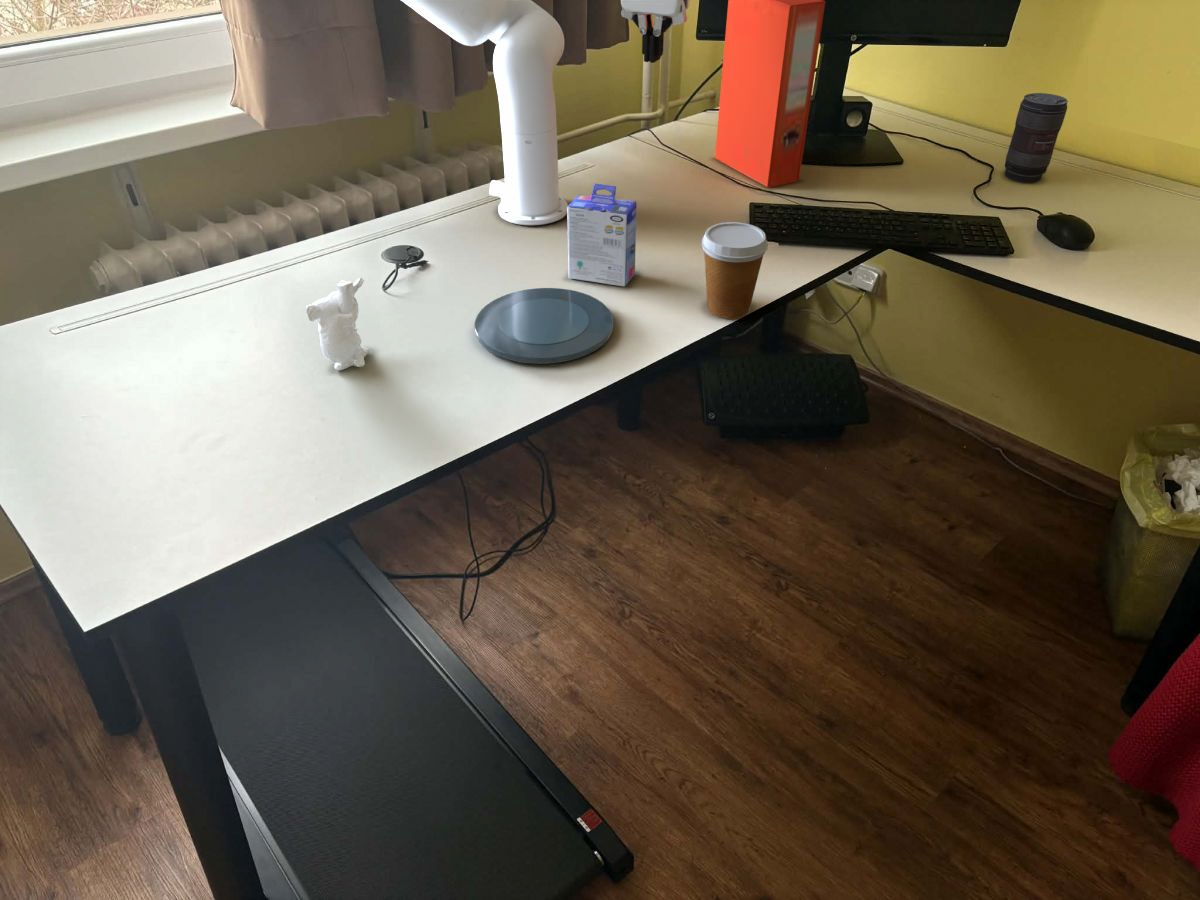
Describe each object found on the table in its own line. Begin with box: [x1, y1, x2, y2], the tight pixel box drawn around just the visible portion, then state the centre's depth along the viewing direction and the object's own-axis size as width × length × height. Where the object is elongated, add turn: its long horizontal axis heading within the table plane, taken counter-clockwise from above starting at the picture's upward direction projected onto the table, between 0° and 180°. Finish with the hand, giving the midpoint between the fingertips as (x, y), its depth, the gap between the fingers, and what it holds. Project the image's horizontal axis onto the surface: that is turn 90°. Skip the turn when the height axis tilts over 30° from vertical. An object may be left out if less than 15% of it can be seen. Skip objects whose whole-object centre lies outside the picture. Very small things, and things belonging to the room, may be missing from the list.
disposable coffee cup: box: [700, 221, 769, 320], centre depth 132 cm, size 10×10×12 cm
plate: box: [474, 287, 614, 365], centre depth 130 cm, size 20×20×2 cm
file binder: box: [714, 0, 826, 189], centre depth 169 cm, size 8×17×32 cm, turn 29°
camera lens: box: [1004, 92, 1069, 184], centre depth 171 cm, size 8×8×15 cm
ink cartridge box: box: [566, 183, 637, 287], centre depth 139 cm, size 10×6×14 cm, turn 72°
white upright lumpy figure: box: [305, 277, 370, 371], centre depth 120 cm, size 8×7×12 cm
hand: (652, 60), depth 144 cm, fingers closed
